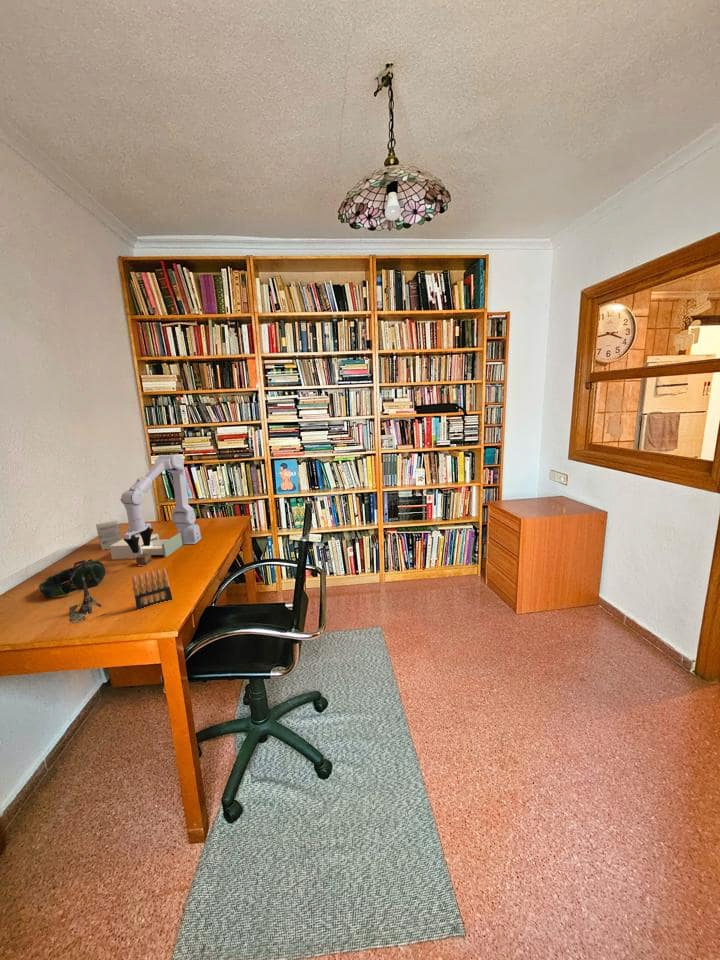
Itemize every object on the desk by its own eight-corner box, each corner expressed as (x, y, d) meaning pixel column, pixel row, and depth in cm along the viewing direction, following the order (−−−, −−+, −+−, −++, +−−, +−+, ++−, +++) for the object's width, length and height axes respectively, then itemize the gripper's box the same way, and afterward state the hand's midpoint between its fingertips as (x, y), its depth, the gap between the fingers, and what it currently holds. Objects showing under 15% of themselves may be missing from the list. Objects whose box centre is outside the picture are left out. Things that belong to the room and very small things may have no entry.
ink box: (120, 541, 189) (116, 519, 186) (122, 545, 182) (118, 523, 180) (100, 546, 183) (95, 523, 181) (102, 550, 177) (97, 527, 174)
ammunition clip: (172, 597, 128) (166, 565, 126) (172, 600, 126) (167, 567, 124) (136, 607, 123) (130, 574, 120) (136, 610, 121) (130, 576, 119)
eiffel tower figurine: (69, 608, 126) (61, 572, 123) (105, 597, 132) (97, 562, 129) (69, 627, 114) (60, 588, 111) (108, 615, 120) (100, 577, 117)
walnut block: (152, 562, 160) (150, 553, 159) (146, 566, 156) (144, 557, 155) (143, 562, 160) (141, 553, 160) (137, 566, 156) (135, 557, 156)
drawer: (182, 545, 177) (180, 533, 176) (166, 557, 164) (163, 544, 162) (154, 546, 178) (152, 534, 177) (136, 558, 165) (133, 545, 163)
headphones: (101, 558, 152) (40, 582, 140) (94, 544, 142) (28, 568, 130) (112, 586, 147) (51, 612, 136) (106, 573, 137) (39, 601, 126)
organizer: (160, 546, 178) (158, 533, 177) (142, 558, 164) (139, 545, 163) (132, 547, 179) (130, 534, 178) (112, 559, 165) (109, 546, 164)
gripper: (138, 513, 161) (143, 543, 164) (114, 524, 147) (121, 556, 150) (153, 513, 161) (158, 542, 164) (131, 523, 147) (137, 555, 150)
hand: (141, 549), depth 157 cm, fingers open, 7 cm apart
